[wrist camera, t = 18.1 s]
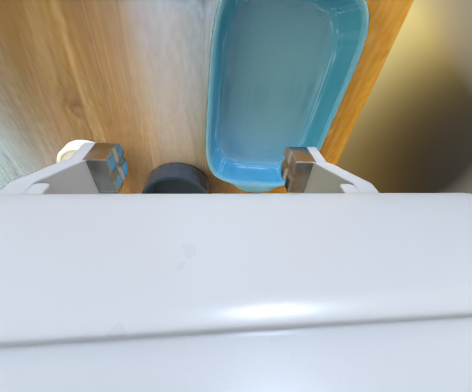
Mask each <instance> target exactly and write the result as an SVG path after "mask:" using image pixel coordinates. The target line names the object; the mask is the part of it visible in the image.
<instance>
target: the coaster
mask: <svg viewBox="0 0 472 392" xmlns="http://www.w3.org/2000/svg"><path fill="white" fill-rule="evenodd" d="M84 143H95V142H92V141H88V140H75V141H72V142H69V143H68V144H67V145H66V146H65V147H64V148H63V149H62V150H61V151H60V152H59V153H58V156H57V163H58V162H61V161H63V160H69V159H70V158H71V157H72V156H73V155H74V154H75V152H76V151H77V150H78V149H79V148H80V147H81V146H82V145H83V144H84Z"/></svg>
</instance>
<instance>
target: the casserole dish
mask: <svg viewBox="0 0 472 392" xmlns="http://www.w3.org/2000/svg"><path fill="white" fill-rule="evenodd" d="M368 25H369V13H368V7H367V3H366V1H365V0H220V1H219V4H218V7H217V10H216V15H215V19H214V25H213V31H212V40H211V50H210V64H209V82H208V102H207V121H206V157H207V163H208V166H209V169H210V170H211V172H212V173H213V175H215V176H216V177H217V178H218V179H220V180H223V181H225V182H228V183H232V184H233V185H235V186H236V187H237V188H239V189H241V190H243V191H246V192H256V193H257V192H267V191H270V190H273V189H275V188H277V187H280V186H285V180H283V179H282V177H281V165H282V162H283V161H284V160H285V156H284V151H285V149H286V147H316V148H317V149H318V151H320V149H321V147H322V145H323V143H324V140H325V138H326V136H327V133H328V131H329V129H330V126H331V124H332V122H333V120H334V117H335V115H336V113H337V110H338V108H339V106H340V104H341V101H342V99H343V97H344V95H345V92H346V90H347V88H348V85H349V83H350V81H351V78H352V76H353V74H354V71H355V69H356V66H357V64H358V61H359V58H360V56H361V53H362V50H363V47H364V44H365V40H366V37H367V32H368Z"/></svg>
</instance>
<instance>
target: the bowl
mask: <svg viewBox="0 0 472 392" xmlns="http://www.w3.org/2000/svg"><path fill="white" fill-rule="evenodd" d="M142 194H211V186H210V183H209V181H208V179H207V177H206V176H205V175H204V174H203V173H202V172H201V171H199V170H198V169H196V168H194V167H193V166H190V165H186V164H183V163H169V164H165V165H161V166H159V167H158V168H156V169H154V170H153V171H152V172H151V173H150V175H149V176H148V178H147V180H146V183H145V186H144V189H143V191H142Z"/></svg>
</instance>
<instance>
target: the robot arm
mask: <svg viewBox="0 0 472 392" xmlns="http://www.w3.org/2000/svg"><path fill="white" fill-rule="evenodd" d="M122 154H123V149H122V146H121V145H120V144H115V143H84V144H83V145H82V146H81V147H80V148H79V149H78V150H77V151H76V152H75V154H74V155H73V156H72V157H71V158H70V159H69V160H63V161H61V162H58V163H56V164H53V165H51V166H48V167H46V168H43V169H41V170H38V171H36V172H33V173H31V174H28V175H26V176H23V177H21V178H18V179H16V180H13V181H11V182H8V183H7V184H6V185H5V186H4V187H3V188H2V189H0V392H472V194H468V193H379V192H378V191H377V190H376V188H375V187H374V186H373V185H372V184H371V183H369V182H367V181H365V180H363V179H361V178H359V177H357V176H355V175H353V174H351V173H349V172H347V171H345V170H343V169H341V168H339V167H337V166H335V165H333V164H331V163H327V162H326V161H325V159H324V158H323V156H322V155H321V154H320V152H319V151H318V149H317V148H316V147H286V149H285V151H284V156H285V160H284V161H283V162H282V165H281V177H282V179H283V180H285V187H286V189H287V192H290V193H264V194H100V193H119V191H120V189H121V187H122V185H123V183H122V180H124V179H125V178H126V176H127V173H128V166H127V162H126V160H125V159H124V158H123V157H122Z"/></svg>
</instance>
